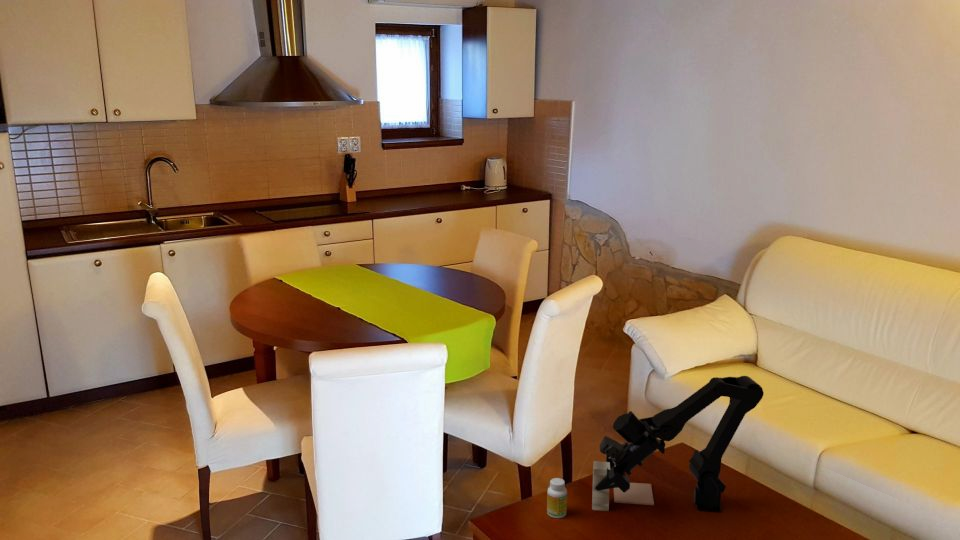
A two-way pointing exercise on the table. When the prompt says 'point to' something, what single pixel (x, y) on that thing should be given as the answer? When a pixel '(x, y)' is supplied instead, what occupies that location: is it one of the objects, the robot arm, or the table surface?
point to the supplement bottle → (557, 498)
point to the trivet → (635, 494)
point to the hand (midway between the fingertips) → (596, 484)
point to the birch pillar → (600, 497)
